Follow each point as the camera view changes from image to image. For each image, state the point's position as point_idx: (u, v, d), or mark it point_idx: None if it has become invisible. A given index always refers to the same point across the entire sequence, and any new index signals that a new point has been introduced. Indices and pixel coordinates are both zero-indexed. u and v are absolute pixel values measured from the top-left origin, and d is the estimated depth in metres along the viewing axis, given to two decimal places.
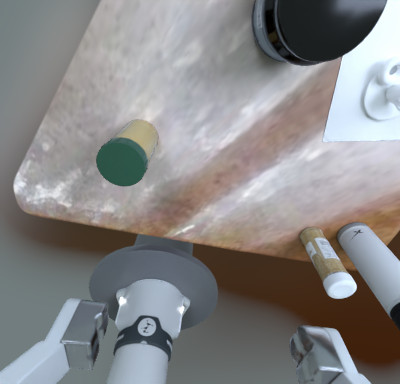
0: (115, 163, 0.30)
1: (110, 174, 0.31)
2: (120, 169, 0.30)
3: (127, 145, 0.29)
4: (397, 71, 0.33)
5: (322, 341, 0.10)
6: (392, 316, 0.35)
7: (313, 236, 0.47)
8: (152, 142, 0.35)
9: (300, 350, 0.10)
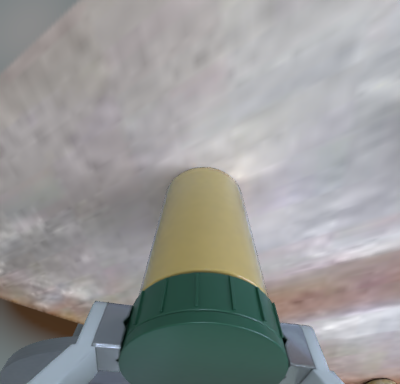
0: (189, 364, 0.08)
1: (153, 379, 0.09)
2: (193, 377, 0.09)
3: (267, 339, 0.08)
4: None
5: (296, 338, 0.09)
6: None
7: None
8: None
9: None
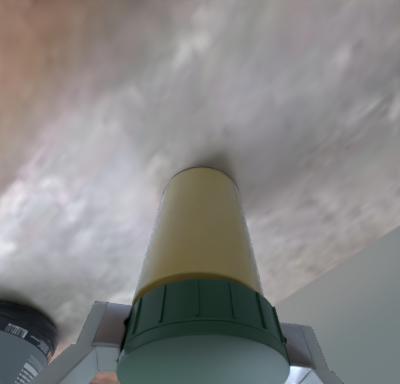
0: (189, 373, 0.08)
1: None
2: None
3: (269, 347, 0.07)
4: None
5: (296, 338, 0.09)
6: None
7: None
8: None
9: None
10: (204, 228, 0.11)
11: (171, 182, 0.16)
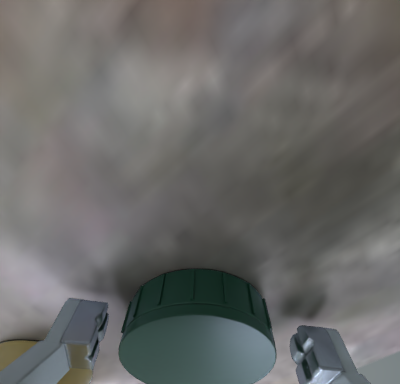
0: (184, 354, 0.09)
1: (150, 368, 0.10)
2: (188, 367, 0.10)
3: (256, 330, 0.08)
4: None
5: (322, 341, 0.10)
6: None
7: None
8: None
9: (300, 350, 0.10)
10: None
11: None
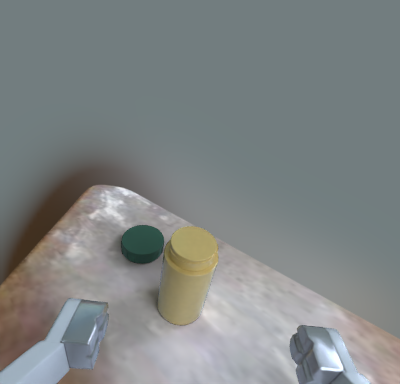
0: (139, 241, 0.35)
1: (147, 248, 0.34)
2: (146, 240, 0.35)
3: (130, 228, 0.37)
4: None
5: (322, 341, 0.10)
6: None
7: None
8: (194, 302, 0.26)
9: (300, 350, 0.10)
10: None
11: (164, 314, 0.28)
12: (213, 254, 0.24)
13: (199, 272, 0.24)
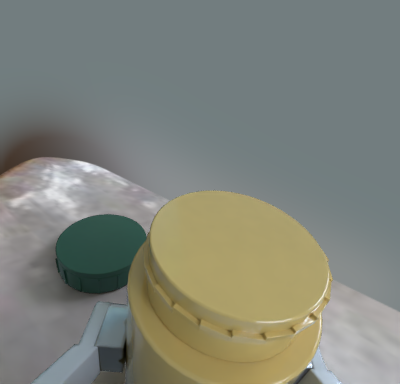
0: (95, 244, 0.17)
1: (110, 259, 0.16)
2: (110, 243, 0.17)
3: (80, 221, 0.19)
4: None
5: None
6: None
7: None
8: None
9: None
10: None
11: None
12: (326, 284, 0.06)
13: (275, 367, 0.05)
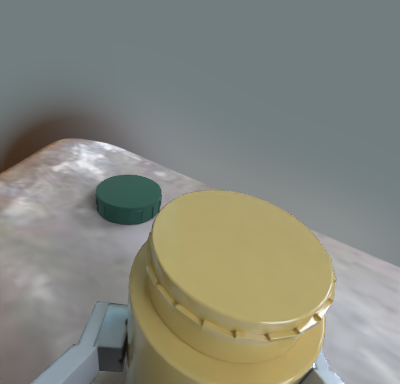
0: (124, 191, 0.23)
1: (136, 200, 0.22)
2: (135, 191, 0.23)
3: (110, 178, 0.25)
4: None
5: None
6: None
7: None
8: None
9: None
10: None
11: None
12: (330, 284, 0.06)
13: (279, 368, 0.05)
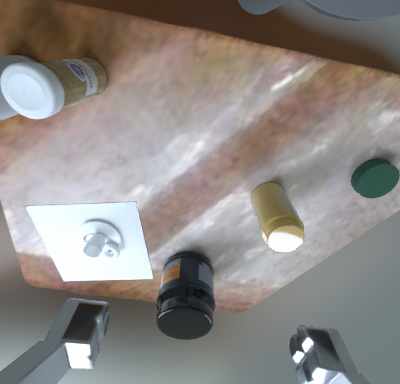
0: (376, 179, 0.37)
1: (364, 185, 0.38)
2: (374, 184, 0.37)
3: (397, 169, 0.36)
4: (107, 251, 0.47)
5: (322, 341, 0.10)
6: None
7: None
8: None
9: (300, 350, 0.10)
10: (282, 204, 0.34)
11: (258, 188, 0.39)
12: (272, 248, 0.33)
13: (263, 234, 0.34)
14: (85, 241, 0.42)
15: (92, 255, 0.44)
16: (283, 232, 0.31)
